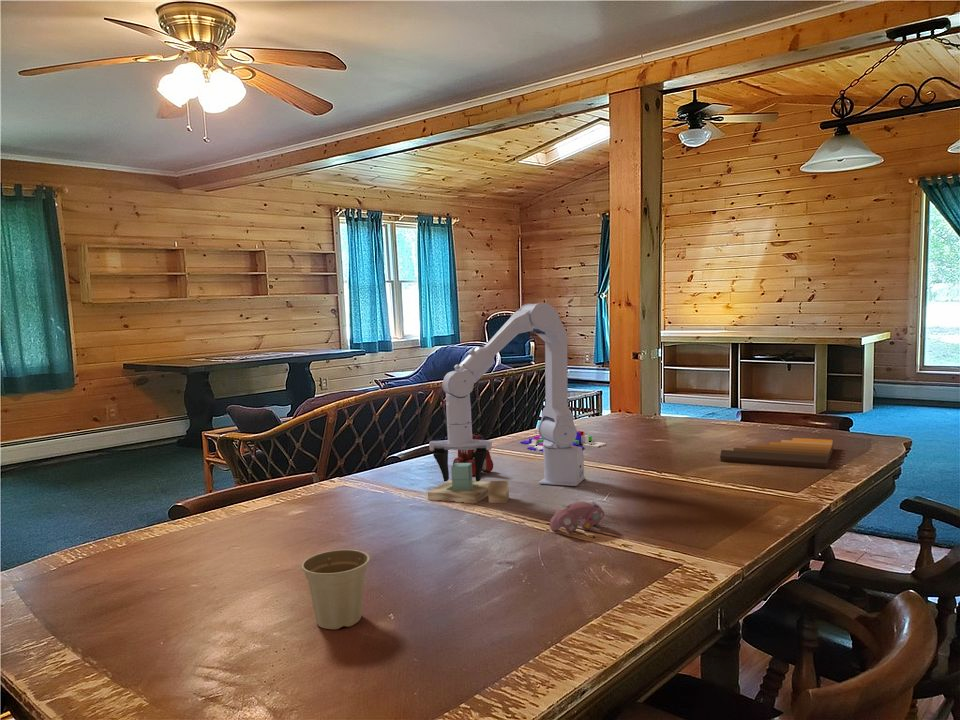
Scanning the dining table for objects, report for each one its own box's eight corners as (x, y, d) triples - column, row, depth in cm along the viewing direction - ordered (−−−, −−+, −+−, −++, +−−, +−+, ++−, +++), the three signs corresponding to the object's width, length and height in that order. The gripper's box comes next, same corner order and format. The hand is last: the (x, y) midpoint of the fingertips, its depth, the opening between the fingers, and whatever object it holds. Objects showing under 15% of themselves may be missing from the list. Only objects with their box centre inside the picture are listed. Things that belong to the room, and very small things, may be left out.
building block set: (506, 449, 211) (505, 435, 211) (544, 438, 227) (544, 424, 226) (575, 457, 195) (574, 442, 195) (611, 444, 210) (610, 430, 210)
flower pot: (377, 603, 101) (373, 547, 100) (368, 633, 92) (364, 571, 91) (313, 607, 101) (309, 550, 100) (298, 638, 91) (294, 575, 91)
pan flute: (720, 463, 179) (826, 471, 166) (719, 451, 179) (826, 457, 166) (737, 445, 200) (833, 450, 188) (737, 434, 200) (833, 438, 187)
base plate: (496, 489, 162) (496, 482, 162) (475, 503, 151) (475, 495, 151) (451, 486, 167) (451, 479, 167) (428, 499, 156) (427, 492, 156)
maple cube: (508, 498, 155) (508, 480, 154) (506, 503, 151) (505, 485, 150) (491, 498, 155) (490, 480, 155) (488, 503, 151) (487, 485, 151)
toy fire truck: (479, 478, 174) (476, 438, 173) (449, 471, 184) (447, 433, 183) (499, 473, 178) (497, 434, 178) (469, 466, 188) (467, 429, 187)
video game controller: (555, 542, 128) (560, 514, 125) (546, 526, 132) (551, 498, 128) (603, 535, 131) (609, 508, 127) (593, 519, 135) (599, 492, 131)
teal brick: (473, 487, 161) (471, 462, 160) (469, 492, 157) (468, 466, 156) (456, 487, 162) (454, 463, 161) (452, 492, 158) (451, 467, 157)
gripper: (493, 419, 160) (495, 476, 161) (433, 420, 163) (436, 476, 164) (487, 424, 153) (490, 483, 154) (425, 425, 156) (428, 483, 157)
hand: (462, 480), depth 159 cm, fingers open, 7 cm apart
